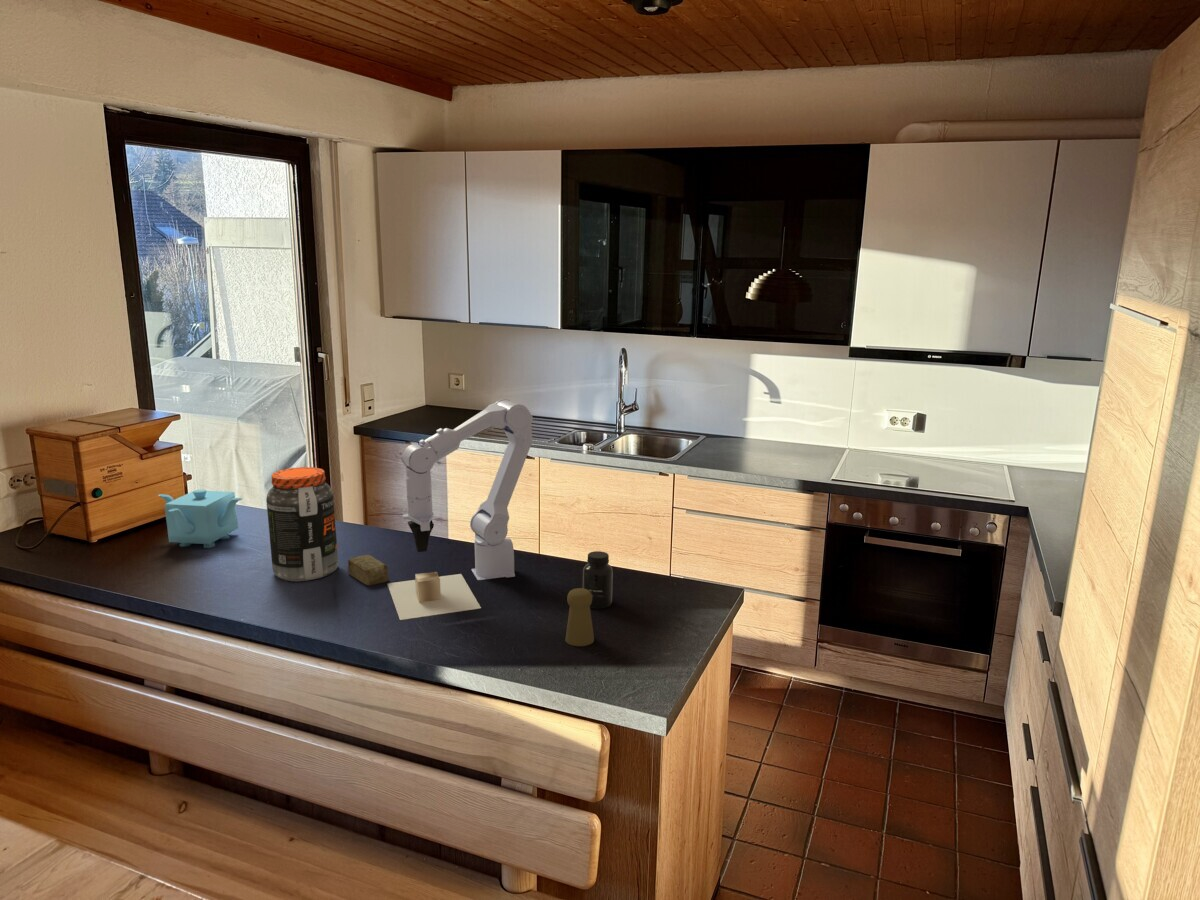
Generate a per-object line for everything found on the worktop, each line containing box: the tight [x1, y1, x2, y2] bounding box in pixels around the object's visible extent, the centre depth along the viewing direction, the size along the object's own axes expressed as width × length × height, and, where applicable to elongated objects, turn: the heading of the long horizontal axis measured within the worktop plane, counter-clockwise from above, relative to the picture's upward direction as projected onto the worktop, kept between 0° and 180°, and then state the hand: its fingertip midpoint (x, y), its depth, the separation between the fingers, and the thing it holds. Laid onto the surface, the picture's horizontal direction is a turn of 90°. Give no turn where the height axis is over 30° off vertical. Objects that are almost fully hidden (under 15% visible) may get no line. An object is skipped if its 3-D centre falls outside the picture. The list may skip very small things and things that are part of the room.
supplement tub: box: [265, 466, 339, 582], centre depth 209 cm, size 16×16×26 cm
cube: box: [414, 571, 441, 602], centre depth 195 cm, size 5×5×5 cm
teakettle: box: [158, 488, 244, 549], centre depth 232 cm, size 19×19×15 cm
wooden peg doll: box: [565, 587, 595, 647], centre depth 175 cm, size 6×6×11 cm
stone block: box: [347, 554, 389, 586], centre depth 207 cm, size 6×12×5 cm, turn 42°
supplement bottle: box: [582, 550, 614, 610], centre depth 193 cm, size 7×7×12 cm
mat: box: [387, 573, 482, 621], centre depth 197 cm, size 18×22×1 cm
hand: (421, 550), depth 200 cm, fingers closed
